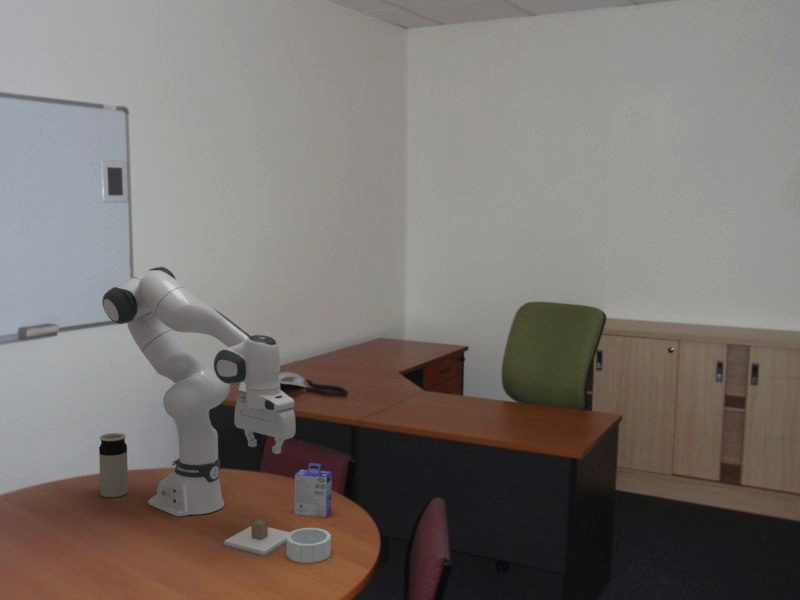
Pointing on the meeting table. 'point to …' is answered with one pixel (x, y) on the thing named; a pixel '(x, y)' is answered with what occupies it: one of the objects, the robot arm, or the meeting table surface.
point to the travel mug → (113, 465)
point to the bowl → (308, 545)
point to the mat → (253, 552)
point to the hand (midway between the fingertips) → (264, 449)
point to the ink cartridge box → (313, 492)
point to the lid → (258, 538)
